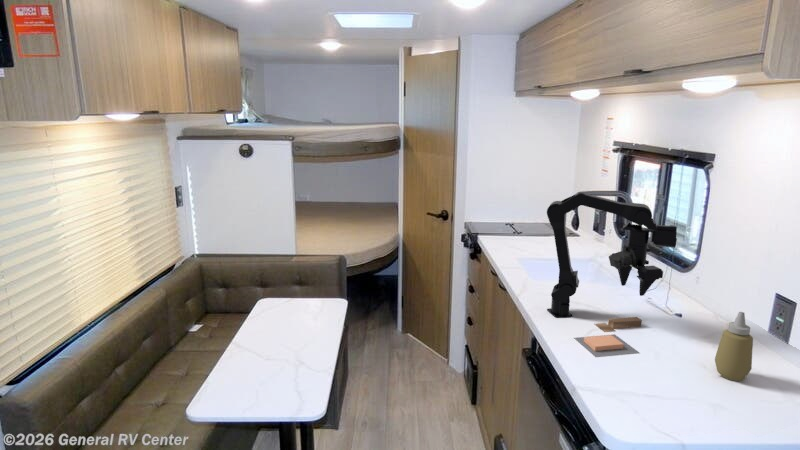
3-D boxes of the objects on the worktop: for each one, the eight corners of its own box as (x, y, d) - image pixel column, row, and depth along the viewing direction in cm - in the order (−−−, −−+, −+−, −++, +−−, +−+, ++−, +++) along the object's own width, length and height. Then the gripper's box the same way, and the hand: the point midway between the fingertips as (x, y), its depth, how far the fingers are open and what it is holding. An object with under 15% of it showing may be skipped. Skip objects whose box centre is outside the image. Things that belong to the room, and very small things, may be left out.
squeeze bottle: (705, 371, 127) (715, 309, 123) (726, 365, 129) (736, 304, 125) (735, 386, 119) (747, 321, 115) (756, 380, 122) (768, 316, 118)
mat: (573, 339, 144) (573, 337, 144) (614, 336, 147) (614, 334, 146) (595, 359, 133) (595, 357, 133) (639, 354, 135) (640, 353, 135)
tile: (610, 339, 143) (583, 341, 142) (611, 334, 143) (584, 337, 141) (623, 349, 137) (594, 351, 136) (623, 344, 137) (595, 346, 135)
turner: (593, 326, 154) (594, 317, 153) (632, 323, 156) (633, 314, 156) (604, 334, 148) (605, 325, 148) (644, 331, 150) (645, 322, 150)
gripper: (597, 237, 156) (593, 281, 160) (633, 253, 138) (627, 303, 142) (627, 236, 158) (622, 280, 162) (667, 251, 140) (660, 300, 144)
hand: (632, 290), depth 152 cm, fingers open, 9 cm apart
